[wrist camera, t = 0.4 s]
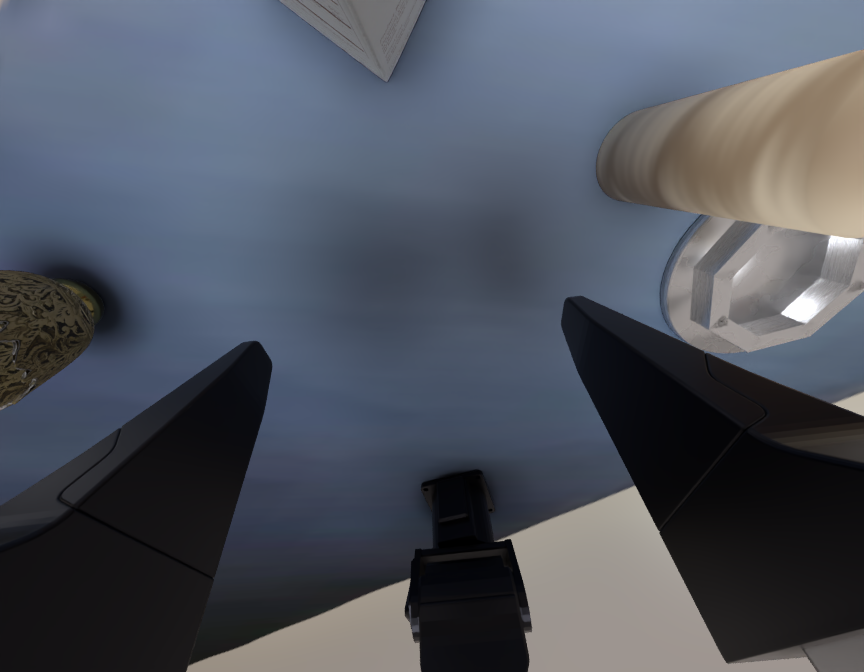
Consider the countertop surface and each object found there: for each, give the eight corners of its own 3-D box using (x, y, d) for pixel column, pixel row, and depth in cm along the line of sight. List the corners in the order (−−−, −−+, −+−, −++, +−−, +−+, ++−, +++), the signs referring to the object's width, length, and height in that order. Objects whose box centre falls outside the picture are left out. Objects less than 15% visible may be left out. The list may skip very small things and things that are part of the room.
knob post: (677, 186, 21) (972, 207, 10) (599, 211, 21) (789, 259, 10) (681, 95, 18) (1071, -16, 7) (593, 126, 19) (829, 67, 8)
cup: (114, 361, 26) (-4, 435, 19) (7, 300, 23) (-177, 358, 16) (155, 299, 23) (38, 356, 16) (42, 223, 21) (-156, 252, 14)
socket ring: (829, 320, 25) (873, 337, 23) (658, 364, 27) (682, 384, 24) (882, 137, 20) (949, 133, 17) (661, 207, 21) (693, 212, 19)
